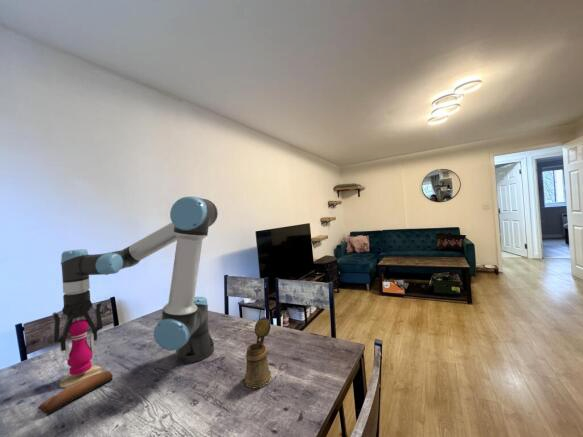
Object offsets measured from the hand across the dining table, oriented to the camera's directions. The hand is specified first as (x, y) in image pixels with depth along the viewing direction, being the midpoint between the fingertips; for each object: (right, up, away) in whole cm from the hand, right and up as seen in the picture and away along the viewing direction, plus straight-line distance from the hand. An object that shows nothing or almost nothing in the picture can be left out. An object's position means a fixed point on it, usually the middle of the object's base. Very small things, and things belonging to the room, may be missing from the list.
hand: (80, 353), depth 93 cm
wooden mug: (+67, -5, -5) cm, 68 cm away
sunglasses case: (+7, -9, -9) cm, 15 cm away
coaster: (+1, -9, 0) cm, 9 cm away
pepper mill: (0, -6, 0) cm, 6 cm away
